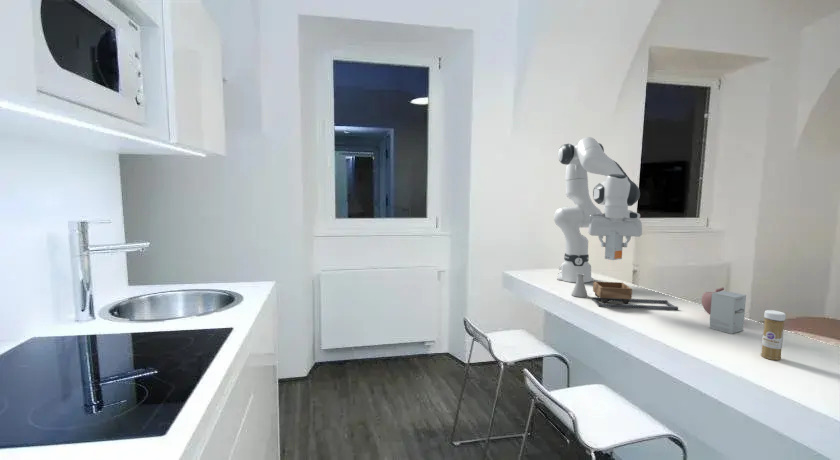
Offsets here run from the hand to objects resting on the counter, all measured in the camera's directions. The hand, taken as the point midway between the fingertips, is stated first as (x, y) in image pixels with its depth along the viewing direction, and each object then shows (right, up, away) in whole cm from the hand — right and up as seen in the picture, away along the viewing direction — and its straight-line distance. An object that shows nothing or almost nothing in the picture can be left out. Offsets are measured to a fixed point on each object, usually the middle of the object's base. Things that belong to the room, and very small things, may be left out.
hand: (613, 246), depth 175 cm
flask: (-8, -23, +16) cm, 29 cm away
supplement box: (+25, -28, -30) cm, 48 cm away
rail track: (+9, -24, +1) cm, 26 cm away
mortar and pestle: (+32, -26, -17) cm, 45 cm away
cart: (0, -23, +2) cm, 23 cm away
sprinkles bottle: (+20, -30, -54) cm, 65 cm away
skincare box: (0, -5, +1) cm, 5 cm away
